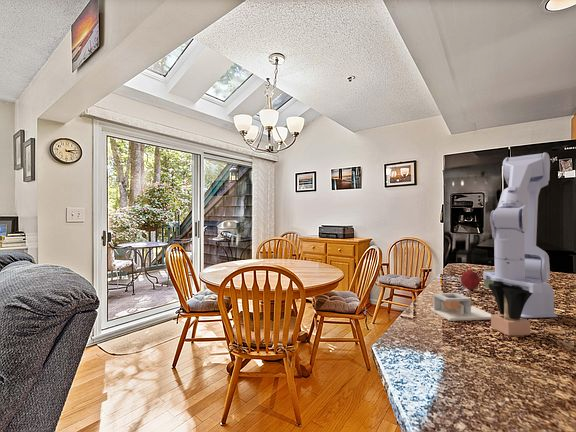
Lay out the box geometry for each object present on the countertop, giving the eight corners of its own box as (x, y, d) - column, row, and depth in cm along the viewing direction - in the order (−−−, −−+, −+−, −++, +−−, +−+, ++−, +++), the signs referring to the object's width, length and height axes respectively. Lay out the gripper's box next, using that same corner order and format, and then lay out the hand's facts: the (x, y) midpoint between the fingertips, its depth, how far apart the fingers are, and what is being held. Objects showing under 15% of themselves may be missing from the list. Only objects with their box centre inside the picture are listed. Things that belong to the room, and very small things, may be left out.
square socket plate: (473, 308, 85) (473, 290, 86) (497, 319, 77) (497, 299, 77) (430, 309, 85) (430, 292, 85) (449, 320, 76) (449, 301, 76)
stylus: (510, 328, 70) (510, 293, 70) (518, 332, 68) (518, 295, 68) (501, 329, 70) (501, 293, 70) (509, 332, 68) (508, 296, 68)
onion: (483, 292, 103) (483, 269, 103) (467, 292, 103) (466, 269, 103) (473, 288, 109) (473, 266, 109) (457, 288, 109) (457, 266, 109)
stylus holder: (511, 326, 72) (511, 313, 72) (530, 334, 66) (530, 321, 66) (491, 326, 71) (491, 314, 71) (508, 335, 66) (508, 322, 66)
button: (453, 305, 82) (453, 298, 82) (459, 308, 79) (459, 300, 79) (443, 305, 82) (443, 298, 82) (449, 308, 79) (449, 301, 79)
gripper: (471, 254, 76) (472, 307, 76) (519, 263, 61) (520, 328, 61) (497, 254, 76) (498, 306, 76) (551, 263, 62) (551, 327, 62)
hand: (509, 316), depth 69 cm, fingers closed on stylus, 2 cm apart
